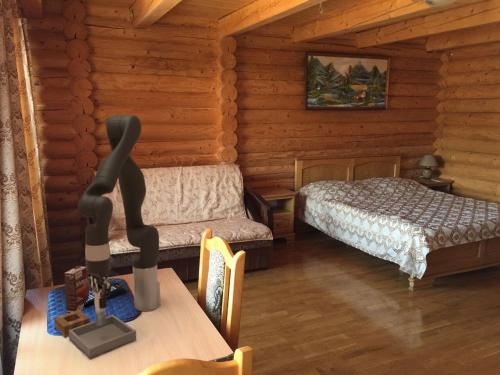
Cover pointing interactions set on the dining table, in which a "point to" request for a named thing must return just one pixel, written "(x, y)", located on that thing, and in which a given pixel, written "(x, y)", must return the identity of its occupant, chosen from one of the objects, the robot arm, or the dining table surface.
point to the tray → (102, 337)
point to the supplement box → (76, 288)
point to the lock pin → (99, 312)
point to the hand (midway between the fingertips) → (100, 305)
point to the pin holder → (70, 321)
